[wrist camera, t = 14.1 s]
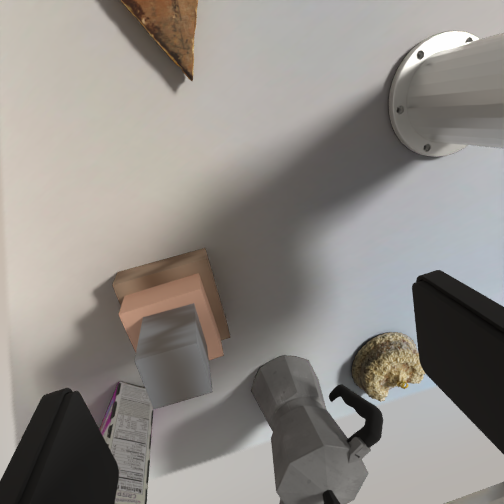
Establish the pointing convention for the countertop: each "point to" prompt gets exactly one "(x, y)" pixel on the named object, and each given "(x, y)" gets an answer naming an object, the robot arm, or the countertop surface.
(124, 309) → the tower top
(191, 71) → the flatbread slice
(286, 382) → the coffeepot
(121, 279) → the tower base
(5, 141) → the countertop surface
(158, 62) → the countertop surface
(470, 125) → the robot arm
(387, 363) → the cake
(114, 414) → the candy bar box
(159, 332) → the grey block
